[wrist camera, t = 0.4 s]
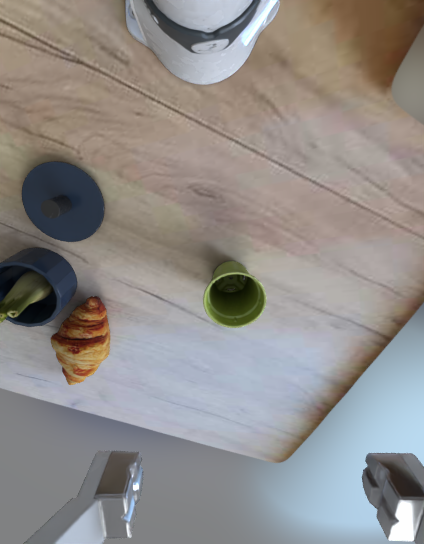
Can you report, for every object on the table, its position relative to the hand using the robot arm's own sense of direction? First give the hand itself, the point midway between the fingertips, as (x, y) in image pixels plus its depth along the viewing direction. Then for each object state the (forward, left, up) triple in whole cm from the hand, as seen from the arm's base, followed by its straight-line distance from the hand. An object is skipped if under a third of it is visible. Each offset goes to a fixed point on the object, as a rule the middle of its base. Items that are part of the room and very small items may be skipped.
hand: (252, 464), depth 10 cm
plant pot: (+11, +1, -39) cm, 41 cm away
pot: (+7, -31, -39) cm, 50 cm away
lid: (-5, -23, -38) cm, 45 cm away
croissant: (+20, -27, -39) cm, 51 cm away
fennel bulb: (+7, -31, -39) cm, 50 cm away
